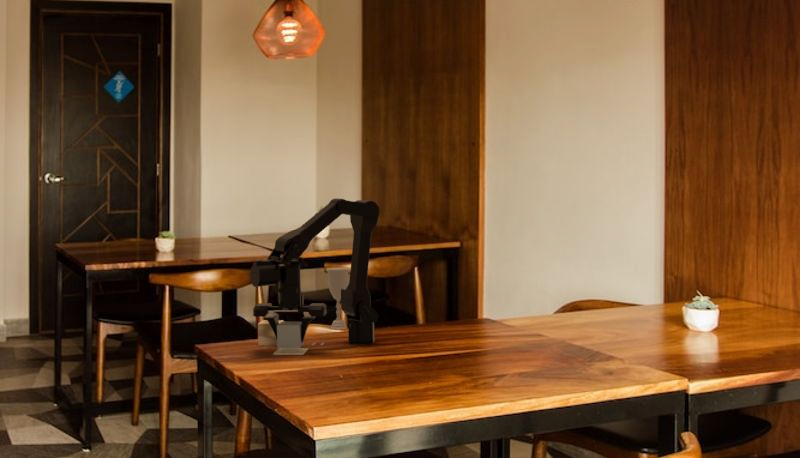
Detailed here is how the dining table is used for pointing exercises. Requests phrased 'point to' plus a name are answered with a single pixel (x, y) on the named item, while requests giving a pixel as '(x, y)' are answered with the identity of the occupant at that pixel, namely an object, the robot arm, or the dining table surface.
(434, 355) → the dining table surface
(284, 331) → the slate block
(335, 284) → the chalice
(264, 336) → the birch block
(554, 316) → the dining table surface
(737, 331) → the dining table surface
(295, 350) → the mat
